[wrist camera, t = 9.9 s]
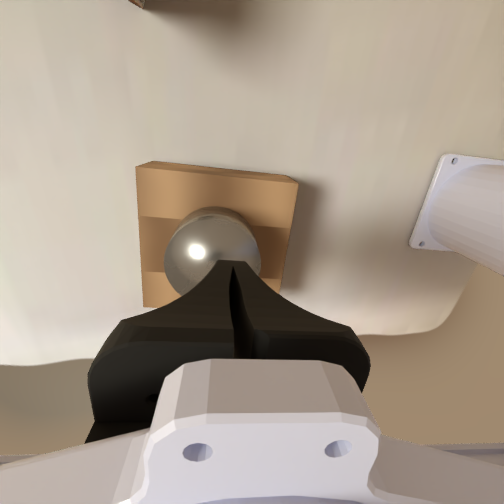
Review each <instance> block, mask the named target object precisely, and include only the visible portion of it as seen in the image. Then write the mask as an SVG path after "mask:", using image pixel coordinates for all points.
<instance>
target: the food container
mask: <svg viewBox="0 0 504 504" xmlns="http://www.w3.org/2000/svg"><path fill="white" fill-rule="evenodd" d="M129 1H130V2H132V3H133V4H135V5H137V6H138V7H140V8H142V9H143V7H144V2H145V0H129Z"/></svg>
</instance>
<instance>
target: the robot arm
mask: <svg viewBox="0 0 504 504" xmlns="http://www.w3.org/2000/svg"><path fill="white" fill-rule="evenodd" d="M452 159H454V162H453V163H451V162H452ZM420 242H422V243H421V244H420V245H419V243H420ZM409 246H410V247H412V248H414V249H426V250H438V251H451V252H457V253H459V254H461V255H463V256H465V257H467V258H469V259H471V260H473V261H475V262H477V263H479V264H481V265H483V266H485V267H487V268H489V269H491V270H493V271H495V272H497V273H499V274H501V275H503V276H504V160H496V159H488V158H481V157H473V156H465V155H457V154H449V153H448V154H444V155H443V156H442V157H441V158H440V160H439V163H438V166H437V168H436V171H435V174H434V177H433V179H432V182H431V185H430V187H429V190H428V193H427V195H426V198H425V201H424V203H423V206H422V209H421V211H420V214H419V217H418V219H417V222H416V225H415V227H414V230H413V233H412V236H411V238H410V241H409ZM370 367H371V365H370V358H369V356H368V354H367V352H366V350H365V348H364V347H363V345H362V343H361V342H360V340H359V339H358V337H357V336H356V334H355V333H354V331H353V330H352V329H351V327H349V326H346V325H343V324H339V323H336V322H333V321H330V320H327V319H324V318H322V317H320V316H317V315H315V314H312V313H310V312H308V311H306V310H304V309H302V308H300V307H298V306H296V305H295V304H293V303H291V302H290V301H288V300H286V299H285V298H283V297H282V296H281V295H279V294H278V293H276V292H275V291H274V290H273V289H271V288H270V287H269V286H268V285H267V284H266V283H265V282H264V281H263V280H262V279H261V278H260V277H259V276H258V275H257V274H256V273H255V272H254V271H253V270H252V268H251V267H250V266H249V265H248V264H247V262H246V261H235V260H217V261H216V263H215V264H214V266H213V267H212V269H211V270H210V271H209V272H208V274H207V275H206V276H205V277H204V278H203V279H202V280H201V281H200V282H199V283H198V284H197V285H196V286H195V287H194V288H192V289H191V290H190V291H189V292H187V293H186V294H185V295H183V296H181V297H179V298H178V299H176V300H174V301H172V302H171V303H169V304H167V305H164V306H162V307H160V308H157V309H155V310H152V311H150V312H147V313H144V314H141V315H137V316H134V317H131V318H127V319H123V320H121V321H120V322H119V324H118V325H117V326H116V328H115V329H114V330H113V331H112V333H111V334H110V335H109V337H108V338H107V340H106V341H105V343H104V344H103V346H102V348H101V349H100V351H99V353H98V354H97V356H96V358H95V359H94V361H93V363H92V365H91V367H90V370H89V372H88V389H89V394H90V399H91V404H92V409H93V415H94V420H95V422H94V424H93V426H92V428H91V430H90V433H89V435H88V437H87V439H86V441H85V443H84V444H82V445H78V446H75V447H70V448H66V449H62V450H58V451H54V452H50V453H47V454H33V455H0V504H504V443H476V444H438V445H420V444H416V443H412V442H409V441H405V440H401V439H397V438H394V437H389V436H386V435H382V434H381V430H380V428H379V426H378V424H377V422H376V421H375V418H374V417H373V415H372V413H371V411H370V409H369V407H368V405H367V403H366V401H365V399H364V397H363V395H362V391H363V389H364V386H365V384H366V381H367V378H368V376H369V372H370Z"/></svg>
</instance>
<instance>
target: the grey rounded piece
mask: <svg viewBox="0 0 504 504" xmlns="http://www.w3.org/2000/svg"><path fill="white" fill-rule="evenodd" d="M217 260H235V261H246V262H247V264H248V265H249V266H250V267H251V268H252V270H253V271H254V272H255V273H256V274H257V275H258V276H259V274H260V269H261V258H260V253H259V249H258V246H257V242H256V239H255V235H254V232H253V230H252V228H251V226H250V225H249V223H248V222H247V221H246V220H245V219H244V218H243V217H242V216H241V215H240V214H238V213H237V212H235V211H233V210H231V209H228V208H224V207H218V206H209V207H203V208H200V209H197V210H195V211H193V212H191V213H190V214H188V215H187V216H186V217H185V218H184V219H183V220H182V221H181V222H180V224H179V225H178V227H177V229H176V231H175V232H174V234H173V236H172V238H171V240H170V242H169V244H168V246H167V248H166V251H165V254H164V270H165V274H166V277H167V279H168V281H169V283H170V284H171V286H172V287H173V288H174V290H175V291H176V292H177V293H179V294H180V295H181V296H183V295H185V294H186V293H187V292H189V291H190V290H191V289H192V288H194V287H195V286H196V285H197V284H198V283H199V282H200V281H201V280H202V279H203V278H204V277H205V276H206V275H207V274H208V272H209V271H210V270H211V269H212V267H213V266H214V264H215V263H216V261H217Z"/></svg>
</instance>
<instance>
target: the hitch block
mask: <svg viewBox="0 0 504 504" xmlns="http://www.w3.org/2000/svg"><path fill="white" fill-rule="evenodd" d="M136 185H137V203H138V220H139V238H140V255H141V273H142V291H143V307H152V308H160V307H162V306H164V305H167V304H169V303H171V302H172V301H174V300H176V299H178V298H179V297H181V295H180V294H179V293H177V292H176V291H175V290H174V288H173V287H172V286H171V284H170V283H169V281H168V279H167V277H166V274H165V270H164V254H165V251H166V248H167V246H168V244H169V242H170V240H171V238H172V236H173V234H174V232H175V231H176V229H177V227H178V225H179V224H180V222H181V221H182V220H183V219H184V218H185V217H186V216H187V215H188V214H190V213H191V212H193V211H195V210H197V209H200V208H203V207H209V206H218V207H224V208H228V209H231V210H233V211H235V212H237V213H238V214H240V215H241V216H242V217H243V218H244V219H245V220H246V221H247V222H248V223H249V225H250V226H251V228H252V230H253V232H254V235H255V239H256V242H257V246H258V249H259V253H260V258H261V269H260V274H259V277H260V278H261V279H262V280H263V281H264V282H265V283H266V284H267V285H268V286H269V287H270V288H271V289H273V290H274V291H275V292H276V293H278V294H279V291H280V285H281V280H282V274H283V269H284V263H285V258H286V252H287V247H288V241H289V236H290V230H291V224H292V219H293V213H294V208H295V202H296V197H297V191H298V186H299V184H298V183H297V182H295V181H294V180H292V179H291V178H289V177H288V176H286V175H278V174H268V173H259V172H250V171H241V170H232V169H222V168H213V167H204V166H195V165H186V164H176V163H167V162H158V161H151V162H148V163H145V164H142V165H139V166H136Z"/></svg>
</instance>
